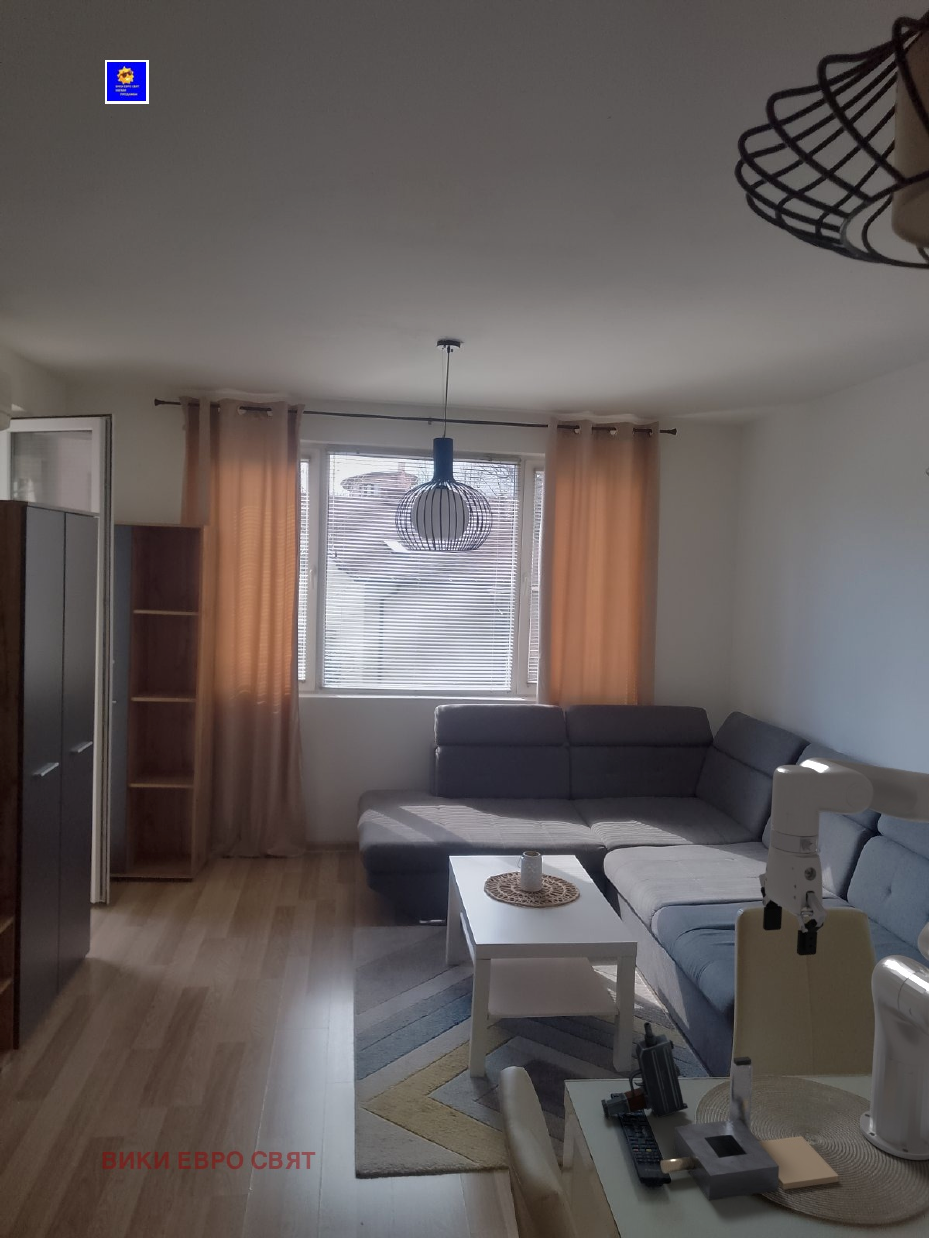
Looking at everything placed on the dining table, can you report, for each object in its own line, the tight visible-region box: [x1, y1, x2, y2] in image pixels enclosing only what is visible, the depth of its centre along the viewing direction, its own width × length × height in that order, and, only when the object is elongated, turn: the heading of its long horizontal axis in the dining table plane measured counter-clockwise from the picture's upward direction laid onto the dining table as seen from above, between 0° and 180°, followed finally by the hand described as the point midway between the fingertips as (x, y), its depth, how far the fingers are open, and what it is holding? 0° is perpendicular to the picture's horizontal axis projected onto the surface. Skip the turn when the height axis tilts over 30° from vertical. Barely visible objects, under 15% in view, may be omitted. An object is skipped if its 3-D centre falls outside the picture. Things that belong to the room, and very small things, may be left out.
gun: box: [600, 1021, 689, 1119], centre depth 154 cm, size 3×17×15 cm
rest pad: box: [758, 1135, 840, 1190], centre depth 143 cm, size 10×10×1 cm
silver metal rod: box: [728, 1056, 754, 1132], centre depth 151 cm, size 4×4×13 cm
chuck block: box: [659, 1119, 779, 1201], centre depth 140 cm, size 17×12×4 cm
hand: (788, 941), depth 143 cm, fingers open, 9 cm apart
